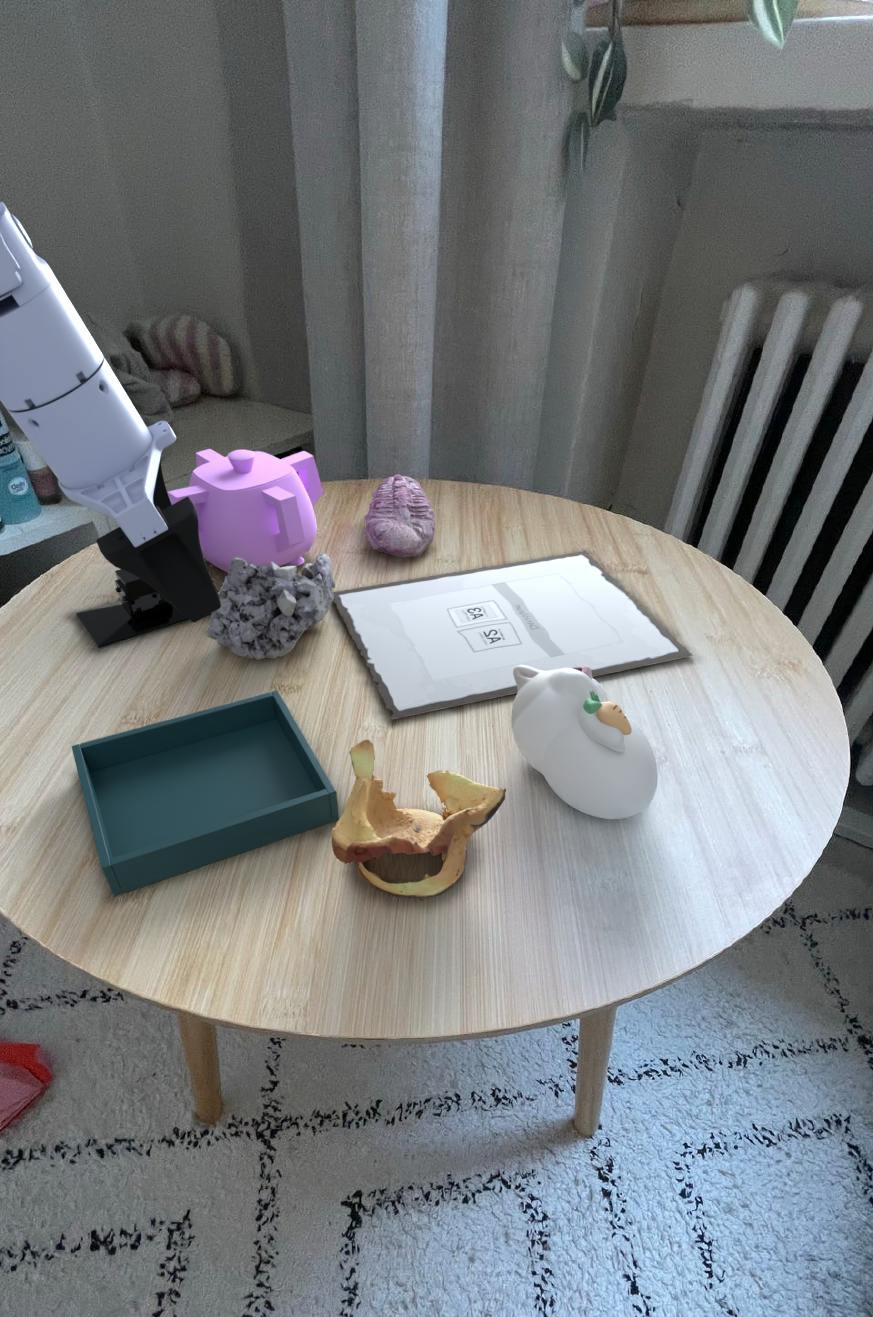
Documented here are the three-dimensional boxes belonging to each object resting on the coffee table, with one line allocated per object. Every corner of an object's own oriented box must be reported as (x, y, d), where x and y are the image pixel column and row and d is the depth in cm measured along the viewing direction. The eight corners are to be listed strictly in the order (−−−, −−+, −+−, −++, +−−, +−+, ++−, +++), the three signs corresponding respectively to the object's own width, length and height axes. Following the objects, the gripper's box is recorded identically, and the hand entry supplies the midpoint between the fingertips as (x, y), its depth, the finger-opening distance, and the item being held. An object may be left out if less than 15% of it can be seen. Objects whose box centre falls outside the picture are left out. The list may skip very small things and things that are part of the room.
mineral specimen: (340, 567, 77) (288, 507, 68) (366, 640, 73) (314, 587, 64) (239, 623, 79) (176, 573, 70) (259, 697, 75) (195, 654, 67)
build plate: (194, 581, 82) (186, 540, 78) (223, 612, 77) (215, 570, 74) (75, 615, 76) (61, 573, 73) (99, 650, 72) (85, 607, 69)
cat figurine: (681, 741, 50) (543, 611, 58) (585, 820, 50) (461, 680, 58) (693, 792, 58) (570, 672, 66) (610, 860, 58) (498, 733, 66)
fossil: (430, 508, 95) (431, 466, 92) (438, 565, 85) (440, 520, 82) (364, 507, 95) (363, 465, 91) (364, 564, 85) (363, 520, 81)
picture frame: (391, 721, 65) (692, 656, 73) (391, 718, 65) (693, 654, 73) (328, 593, 80) (585, 552, 88) (328, 591, 80) (585, 549, 87)
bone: (357, 936, 50) (349, 852, 44) (310, 833, 56) (298, 747, 50) (519, 877, 53) (531, 792, 48) (457, 786, 60) (462, 702, 54)
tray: (114, 896, 51) (101, 868, 49) (83, 774, 60) (71, 745, 58) (339, 819, 57) (336, 791, 55) (282, 717, 65) (277, 689, 63)
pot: (230, 621, 76) (208, 507, 68) (144, 557, 85) (115, 449, 77) (370, 562, 85) (365, 456, 77) (279, 510, 94) (266, 409, 86)
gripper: (151, 384, 36) (279, 605, 46) (99, 314, 45) (215, 511, 55) (15, 458, 35) (175, 665, 45) (-9, 371, 44) (128, 559, 55)
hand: (191, 584), depth 50 cm, fingers open, 7 cm apart
